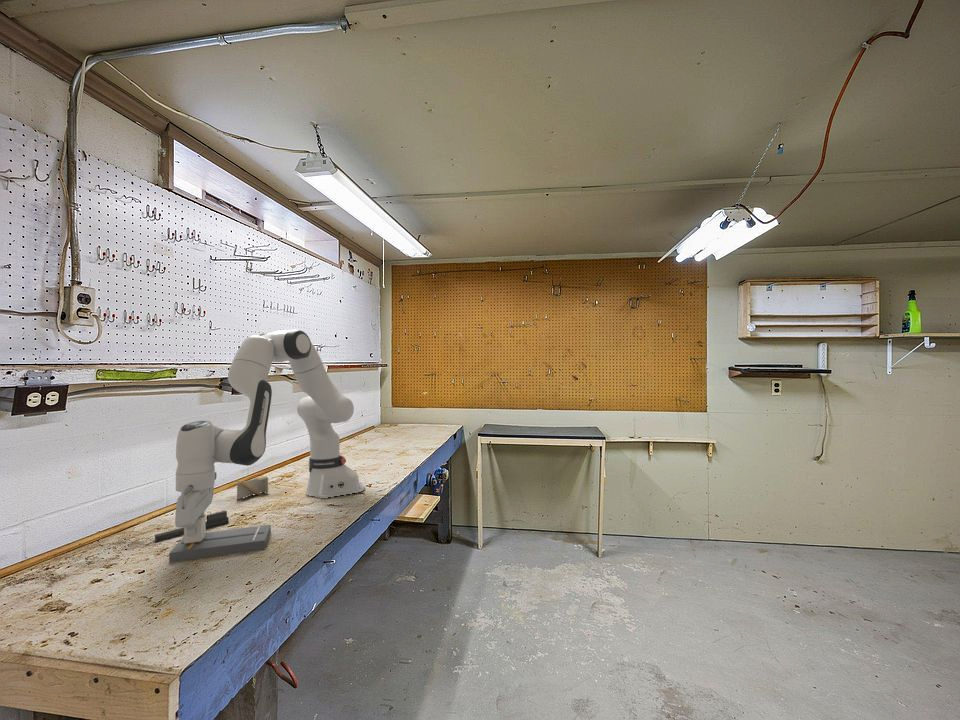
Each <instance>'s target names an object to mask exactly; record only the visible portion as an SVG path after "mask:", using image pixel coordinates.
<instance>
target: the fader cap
mask: <svg viewBox="0 0 960 720" xmlns="http://www.w3.org/2000/svg"><path fill="white" fill-rule="evenodd" d="M206 518H207V515H206V513H204V514H203V515H200V517H199V518H198V519H197V520H196V523H195V524H196V528H197V533H196V534H195V536H192V537H188V536H187V529H186V527H184V535H183V537H184V543H192V542H200V541H202V540H203V538H204V537H205V536H206V530H207V529H206V522H207V519H206Z"/></svg>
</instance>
